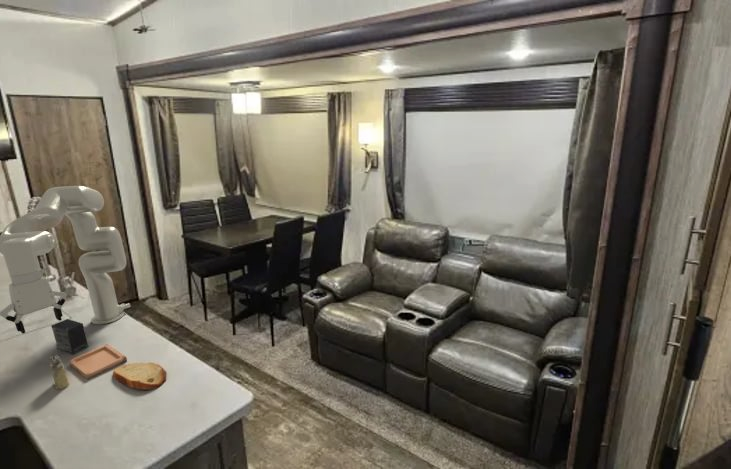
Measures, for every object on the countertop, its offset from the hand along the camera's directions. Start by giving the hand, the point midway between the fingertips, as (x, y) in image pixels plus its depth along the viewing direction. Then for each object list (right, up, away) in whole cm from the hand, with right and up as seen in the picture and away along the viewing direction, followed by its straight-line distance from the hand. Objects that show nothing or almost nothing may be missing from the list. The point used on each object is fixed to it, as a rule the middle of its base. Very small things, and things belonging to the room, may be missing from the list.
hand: (41, 325), depth 128 cm
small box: (-11, -16, +29) cm, 34 cm away
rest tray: (+6, -18, +18) cm, 26 cm away
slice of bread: (+27, -21, +8) cm, 35 cm away
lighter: (+2, -22, +7) cm, 23 cm away
